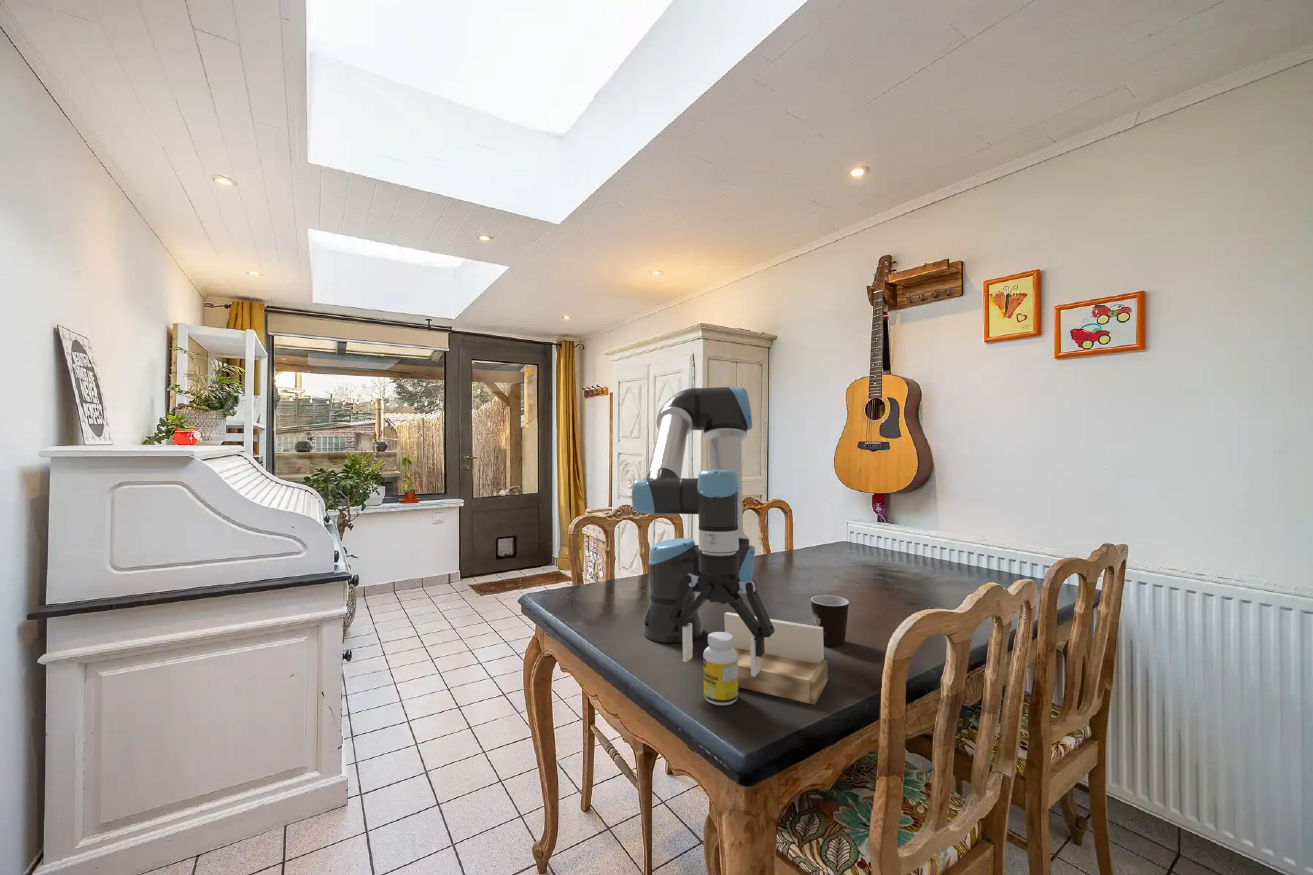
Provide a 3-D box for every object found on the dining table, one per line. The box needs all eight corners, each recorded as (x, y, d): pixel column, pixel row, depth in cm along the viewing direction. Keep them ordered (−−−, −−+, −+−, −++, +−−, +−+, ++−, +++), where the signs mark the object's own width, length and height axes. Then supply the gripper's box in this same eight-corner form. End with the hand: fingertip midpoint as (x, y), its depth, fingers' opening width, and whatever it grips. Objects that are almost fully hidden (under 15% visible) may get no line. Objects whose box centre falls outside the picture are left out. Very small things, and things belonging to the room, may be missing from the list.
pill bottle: (701, 691, 99) (700, 630, 99) (733, 689, 100) (732, 629, 100) (707, 708, 93) (706, 643, 93) (742, 705, 93) (741, 641, 94)
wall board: (725, 659, 114) (724, 613, 114) (727, 656, 115) (726, 611, 115) (822, 679, 103) (821, 629, 104) (824, 676, 105) (823, 627, 105)
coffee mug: (852, 650, 118) (851, 606, 118) (813, 648, 119) (812, 604, 120) (844, 632, 129) (843, 592, 129) (808, 630, 131) (808, 591, 131)
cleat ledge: (704, 679, 104) (704, 658, 104) (725, 659, 114) (724, 640, 114) (815, 704, 93) (814, 681, 93) (827, 680, 103) (827, 659, 103)
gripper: (651, 549, 100) (652, 660, 99) (777, 561, 87) (780, 688, 87) (669, 543, 106) (671, 647, 105) (789, 554, 94) (792, 671, 93)
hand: (720, 666), depth 96 cm, fingers open, 13 cm apart
